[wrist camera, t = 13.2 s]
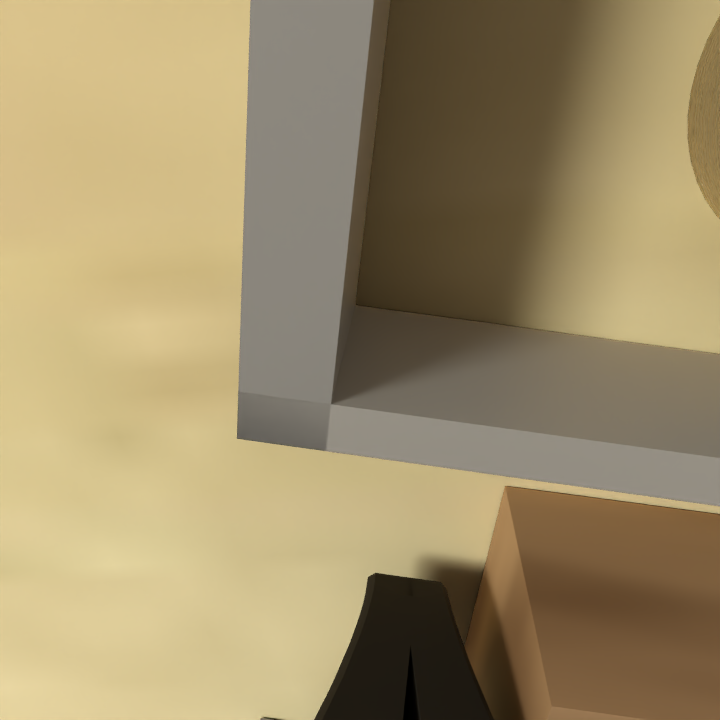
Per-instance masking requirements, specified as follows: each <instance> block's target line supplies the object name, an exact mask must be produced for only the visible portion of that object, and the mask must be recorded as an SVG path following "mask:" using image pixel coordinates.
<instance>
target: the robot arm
mask: <svg viewBox="0 0 720 720" xmlns="http://www.w3.org/2000/svg"><path fill="white" fill-rule="evenodd" d="M314 720H494V718H493V716H492V714H491V711H490V709H489V707H488V704H487V702H486V700H485V697H484V695H483V692H482V690H481V688H480V685H479V683H478V681H477V678H476V676H475V674H474V671H473V668H472V666H471V663H470V661H469V658H468V656H467V653H466V650H465V647H464V645H463V642H462V639H461V636H460V634H459V631H458V628H457V625H456V622H455V619H454V615H453V612H452V609H451V605H450V602H449V598H448V594H447V590H446V588H445V587H444V585H443V584H442V583H441V582H436V581H429V580H422V579H415V578H407V577H400V576H393V575H386V574H379V573H375V574H373V575H371V576H369V577H368V581H367V587H366V594H365V598H364V603H363V606H362V610H361V613H360V616H359V619H358V622H357V625H356V628H355V631H354V633H353V636H352V639H351V642H350V644H349V646H348V649H347V651H346V653H345V656H344V658H343V660H342V663H341V665H340V667H339V670H338V672H337V674H336V677H335V679H334V681H333V683H332V686H331V688H330V690H329V692H328V694H327V696H326V698H325V700H324V702H323V704H322V706H321V707H320V709H319V711H318V713H317V715H316V717H315V719H314Z"/></svg>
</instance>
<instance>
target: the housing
mask: <svg viewBox="0 0 720 720" xmlns="http://www.w3.org/2000/svg"><path fill="white" fill-rule="evenodd" d="M390 4H391V0H251V6H250V38H249V70H248V102H247V134H246V166H245V198H244V230H243V262H242V294H241V326H240V358H239V390H238V422H237V439H243V440H251V441H258V442H265V443H272V444H279V445H286V446H293V447H301V448H308V449H315V450H322V451H329V452H336V453H343V454H351V455H358V456H365V457H372V458H379V459H386V460H393V461H401V462H408V463H415V464H422V465H429V466H436V467H443V468H450V469H458V470H465V471H472V472H479V473H486V474H493V475H500V476H508V477H515V478H522V479H529V480H536V481H543V482H550V483H558V484H565V485H572V486H579V487H586V488H593V489H600V490H608V491H615V492H622V493H629V494H636V495H643V496H650V497H658V498H665V499H672V500H679V501H686V502H693V503H700V504H708V505H715V506H720V354H715V353H707V352H700V351H693V350H685V349H678V348H670V347H663V346H655V345H648V344H640V343H633V342H626V341H618V340H611V339H603V338H596V337H588V336H581V335H574V334H566V333H559V332H551V331H544V330H536V329H529V328H521V327H514V326H507V325H499V324H492V323H484V322H477V321H469V320H462V319H455V318H447V317H440V316H432V315H425V314H417V313H410V312H402V311H395V310H388V309H380V308H373V307H365V306H358V305H355V304H356V296H357V287H358V278H359V270H360V261H361V253H362V244H363V236H364V227H365V218H366V210H367V201H368V193H369V184H370V175H371V167H372V158H373V150H374V141H375V132H376V124H377V115H378V107H379V98H380V90H381V81H382V72H383V64H384V55H385V47H386V38H387V29H388V21H389V12H390ZM261 720H272V719H266V718H261Z"/></svg>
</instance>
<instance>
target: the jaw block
mask: <svg viewBox="0 0 720 720" xmlns="http://www.w3.org/2000/svg"><path fill="white" fill-rule="evenodd" d="M465 650H466V653H467V656H468V658H469V661H470V663H471V666H472V668H473V671H474V674H475V676H476V678H477V681H478V683H479V685H480V688H481V690H482V692H483V695H484V697H485V700H486V702H487V704H488V707H489V709H490V711H491V714H492V716H493V718H494V720H720V515H719V514H712V513H704V512H696V511H689V510H681V509H674V508H666V507H659V506H651V505H644V504H636V503H629V502H621V501H613V500H606V499H598V498H591V497H583V496H576V495H568V494H561V493H553V492H545V491H538V490H530V489H523V488H515V487H508V486H505V489H504V493H503V497H502V501H501V505H500V509H499V513H498V516H497V520H496V524H495V528H494V532H493V536H492V540H491V544H490V548H489V552H488V556H487V560H486V564H485V568H484V572H483V576H482V580H481V584H480V588H479V592H478V595H477V599H476V603H475V607H474V611H473V615H472V619H471V623H470V627H469V631H468V635H467V639H466V643H465Z"/></svg>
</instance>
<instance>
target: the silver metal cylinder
mask: <svg viewBox="0 0 720 720" xmlns="http://www.w3.org/2000/svg"><path fill="white" fill-rule="evenodd" d="M688 144H689V152H690V159H691V163H692V167H693V170H694V174H695V177H696V180H697V183H698V185H699V187H700V189H701V191H702V193H703V196H704V198H705V200H706V201H707V203H708V204H709V206H710V207H711V208H712V210H713V211H714V213H715V214H716V216H717V217H718V218H719V219H720V16H719V18H718V20H717V22H716V24H715V26H714V28H713V30H712V32H711V33H710V35H709V37H708V39H707V42H706V45H705V47H704V50H703V52H702V55H701V58H700V60H699V63H698V66H697V69H696V73H695V77H694V81H693V85H692V89H691V95H690V102H689V110H688Z"/></svg>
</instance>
